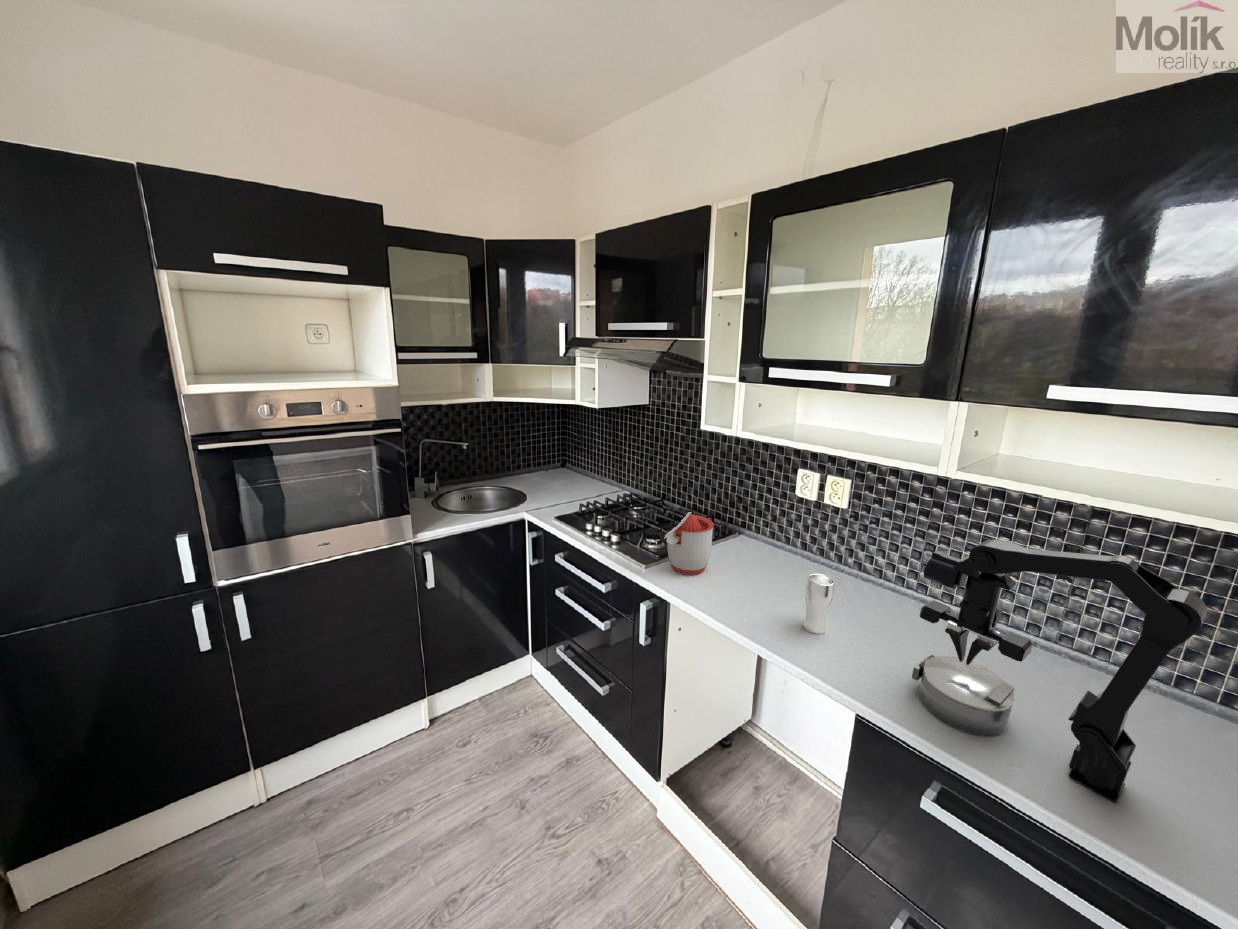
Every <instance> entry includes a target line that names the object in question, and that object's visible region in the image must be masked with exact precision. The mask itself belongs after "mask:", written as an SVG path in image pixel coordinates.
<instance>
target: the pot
mask: <svg viewBox="0 0 1238 929" xmlns="http://www.w3.org/2000/svg"><path fill="white" fill-rule="evenodd" d="M929 656H930V655H927V656H926V657H925V658H924V659H922V660H920V661H919V662H918V663H917V664H916V665H914V667H913V670H912V673H911V679H912V680H914V681H916V682H917V681H920V684H919V690H918V694H917V695H918V698H919V700H920V703H921V704H922V706H923V707H924V708H925V710H927V712H928V713H929V714H931V715H932V716H933V717H934V718H936V719H937V720H939V721H940V722H942V723H943V724H946V725H947V726H949V727H951V728H953V729H954V730H958V731H960V732H963V733H966V734H968V735H972V736H975V737H984V738H985V737H986V738H988V737H990V738H992V737H996V736H1000V735H1002V734H1003V733H1005V731H1006V729H1007V727H1008V723H1009V718H1010V714H1011V712H1012V708H1013V704H1014V703H1013V704H1012V706H1011V707H1010V708H1009V709H1007V710H1003V711H984V710H979V709H975V708H971V707H968V706H965V705H963V704H960V703H958V702H956V701H954V700H952V699H950V698H948V697H947V696H945V695H943V694H942V693H940V692H939V691H938V690H936V689H935V688H934V687H933V686H932V685H931V684H930V683H929V682H928V680H927V679H926V677H925V675H924V672H923V669H924V668H920V667H919V664H920V663H922V662H923V661H924V660H925V659H927V658H928V657H929Z"/></svg>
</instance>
